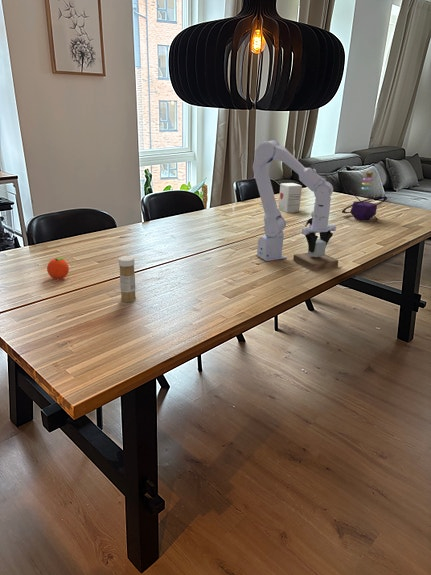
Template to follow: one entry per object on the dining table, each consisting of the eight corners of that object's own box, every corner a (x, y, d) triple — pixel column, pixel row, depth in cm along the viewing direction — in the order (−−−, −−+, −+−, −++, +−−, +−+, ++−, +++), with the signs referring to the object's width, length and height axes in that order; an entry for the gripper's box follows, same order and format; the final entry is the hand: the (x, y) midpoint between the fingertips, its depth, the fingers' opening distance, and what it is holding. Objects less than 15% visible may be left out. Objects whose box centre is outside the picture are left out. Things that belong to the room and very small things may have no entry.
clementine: (64, 272, 155) (62, 253, 152) (76, 277, 151) (74, 257, 149) (44, 278, 149) (41, 258, 147) (55, 283, 146) (53, 263, 143)
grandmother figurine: (306, 239, 201) (309, 211, 196) (302, 237, 205) (305, 209, 200) (321, 238, 203) (325, 211, 198) (317, 236, 207) (320, 209, 202)
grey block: (314, 257, 167) (316, 243, 165) (307, 253, 171) (309, 239, 169) (324, 255, 169) (326, 241, 167) (316, 252, 173) (318, 238, 171)
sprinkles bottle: (130, 295, 139) (128, 254, 133) (139, 299, 136) (137, 258, 131) (117, 299, 136) (115, 257, 130) (126, 304, 133) (124, 261, 128)
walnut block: (312, 272, 164) (313, 264, 163) (293, 262, 174) (293, 254, 173) (337, 267, 169) (338, 260, 168) (317, 258, 179) (318, 251, 178)
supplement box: (277, 209, 256) (279, 183, 250) (290, 208, 260) (293, 182, 254) (286, 213, 249) (288, 186, 243) (299, 211, 252) (302, 185, 246)
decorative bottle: (388, 225, 229) (397, 176, 220) (347, 224, 229) (354, 174, 220) (374, 215, 250) (382, 169, 240) (337, 214, 250) (343, 168, 240)
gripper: (311, 220, 158) (307, 256, 163) (343, 216, 164) (338, 251, 169) (299, 215, 163) (296, 250, 169) (330, 212, 170) (326, 246, 175)
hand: (316, 250), depth 169 cm, fingers closed on grey block, 4 cm apart
